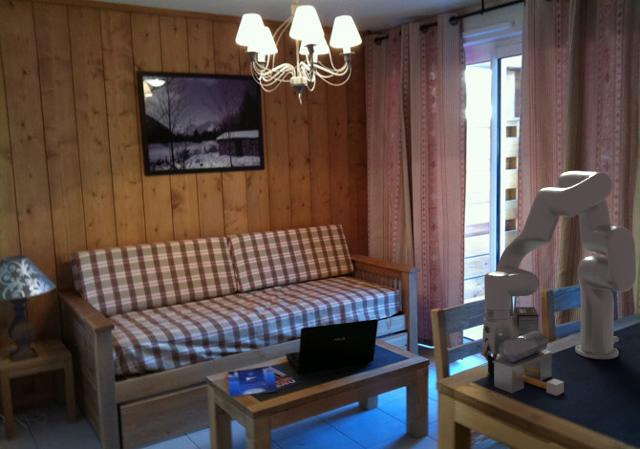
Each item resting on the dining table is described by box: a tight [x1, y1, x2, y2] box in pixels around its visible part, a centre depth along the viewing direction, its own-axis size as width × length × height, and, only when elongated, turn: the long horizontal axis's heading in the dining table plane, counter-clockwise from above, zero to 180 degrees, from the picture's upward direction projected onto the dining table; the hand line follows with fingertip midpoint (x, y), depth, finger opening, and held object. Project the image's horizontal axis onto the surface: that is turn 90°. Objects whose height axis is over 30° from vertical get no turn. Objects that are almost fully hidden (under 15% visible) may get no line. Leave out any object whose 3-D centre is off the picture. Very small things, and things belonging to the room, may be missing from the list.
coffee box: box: [513, 306, 539, 337], centre depth 179 cm, size 9×6×16 cm
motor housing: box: [493, 330, 552, 394], centre depth 162 cm, size 18×6×14 cm, turn 124°
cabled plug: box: [491, 354, 565, 397], centre depth 163 cm, size 4×24×5 cm, turn 34°
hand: (498, 371), depth 170 cm, fingers closed on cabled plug, 4 cm apart
